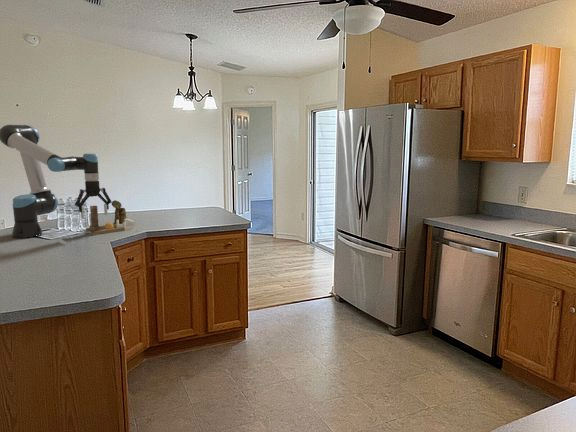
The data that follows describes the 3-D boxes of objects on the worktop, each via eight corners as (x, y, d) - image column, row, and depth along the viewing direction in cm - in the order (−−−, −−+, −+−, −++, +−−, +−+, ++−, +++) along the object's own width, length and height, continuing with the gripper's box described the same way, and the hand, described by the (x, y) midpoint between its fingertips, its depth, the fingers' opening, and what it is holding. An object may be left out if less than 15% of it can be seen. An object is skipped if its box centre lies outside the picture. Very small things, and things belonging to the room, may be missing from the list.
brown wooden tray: (95, 238, 254) (95, 227, 253) (84, 233, 266) (84, 222, 265) (137, 232, 271) (136, 221, 270) (125, 227, 283) (124, 217, 282)
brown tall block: (94, 233, 258) (92, 207, 255) (89, 231, 263) (87, 205, 260) (101, 232, 260) (99, 206, 258) (96, 230, 265) (94, 205, 263)
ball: (107, 231, 264) (106, 223, 263) (103, 230, 267) (103, 222, 267) (115, 230, 267) (114, 222, 266) (111, 229, 271) (111, 221, 270)
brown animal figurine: (109, 228, 282) (107, 200, 279) (116, 223, 295) (115, 197, 292) (123, 228, 282) (121, 200, 279) (130, 224, 295) (128, 197, 292)
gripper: (71, 182, 245) (74, 219, 249) (115, 179, 262) (118, 214, 266) (67, 181, 250) (70, 218, 254) (110, 178, 267) (112, 213, 271)
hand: (94, 216), depth 260 cm, fingers open, 13 cm apart
